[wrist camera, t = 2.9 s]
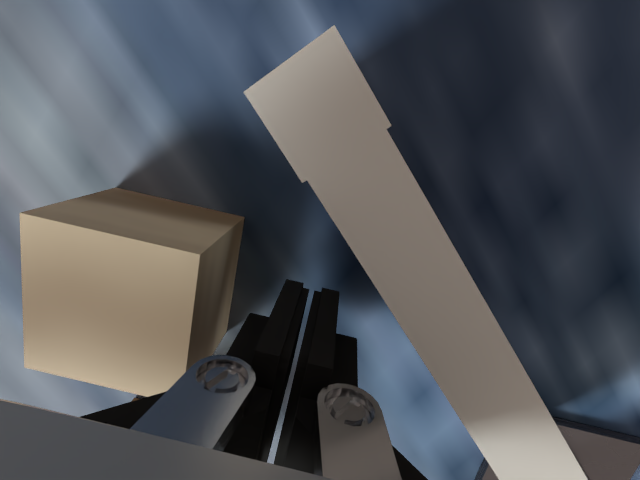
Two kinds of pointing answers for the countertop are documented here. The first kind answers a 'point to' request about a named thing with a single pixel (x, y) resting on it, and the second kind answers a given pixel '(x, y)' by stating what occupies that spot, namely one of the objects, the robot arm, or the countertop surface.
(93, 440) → the robot arm
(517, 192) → the countertop surface
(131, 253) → the tan cube
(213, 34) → the countertop surface
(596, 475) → the knob on square plate
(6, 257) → the countertop surface
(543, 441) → the white long bar
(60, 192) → the countertop surface
